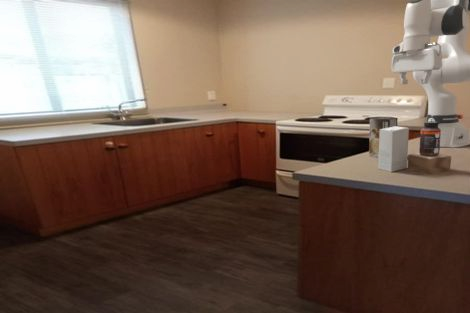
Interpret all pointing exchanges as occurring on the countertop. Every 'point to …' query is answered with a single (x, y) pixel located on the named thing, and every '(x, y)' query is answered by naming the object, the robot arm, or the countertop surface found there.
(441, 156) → the walnut base
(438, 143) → the supplement bottle
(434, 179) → the countertop surface
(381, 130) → the skincare box
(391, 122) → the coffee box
